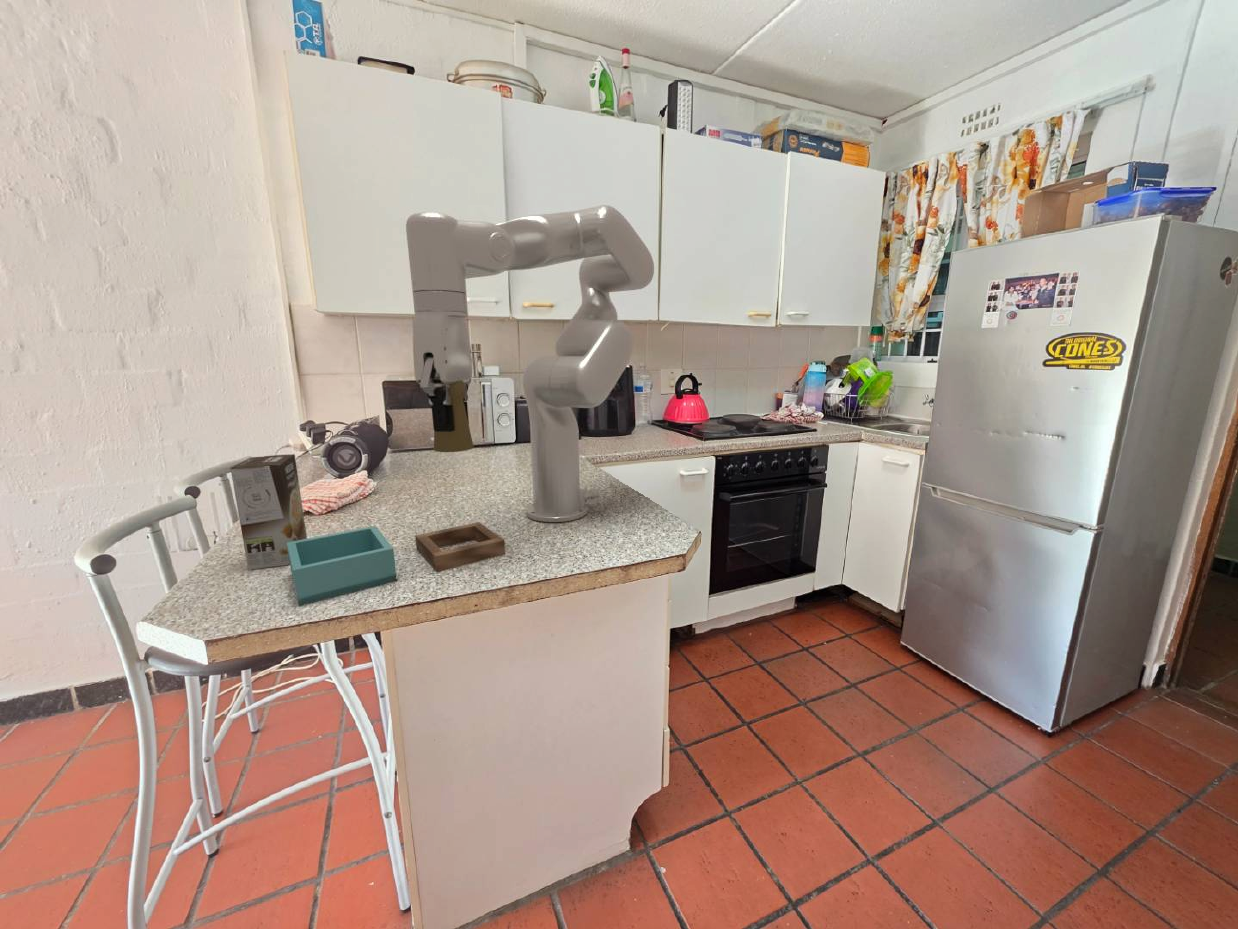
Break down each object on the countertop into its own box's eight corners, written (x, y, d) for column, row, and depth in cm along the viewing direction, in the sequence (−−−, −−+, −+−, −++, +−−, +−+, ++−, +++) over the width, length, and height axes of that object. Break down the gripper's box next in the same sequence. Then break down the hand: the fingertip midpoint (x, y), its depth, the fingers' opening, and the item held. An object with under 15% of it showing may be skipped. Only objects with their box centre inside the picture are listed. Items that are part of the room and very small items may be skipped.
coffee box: (296, 564, 76) (280, 464, 73) (247, 571, 74) (228, 468, 70) (309, 543, 84) (295, 453, 81) (265, 549, 82) (249, 456, 79)
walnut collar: (479, 535, 88) (478, 522, 88) (505, 554, 80) (504, 540, 79) (416, 549, 82) (415, 535, 81) (436, 572, 73) (435, 556, 73)
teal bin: (379, 554, 80) (375, 525, 79) (396, 580, 70) (393, 548, 69) (291, 574, 73) (286, 542, 72) (298, 606, 63) (292, 570, 62)
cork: (478, 449, 76) (473, 378, 74) (438, 453, 73) (431, 379, 71) (467, 443, 81) (461, 376, 79) (429, 447, 78) (422, 378, 75)
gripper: (444, 311, 81) (454, 421, 85) (383, 301, 65) (399, 437, 69) (487, 310, 80) (495, 421, 84) (436, 300, 64) (449, 438, 68)
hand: (451, 427), depth 76 cm, fingers closed on cork, 4 cm apart
